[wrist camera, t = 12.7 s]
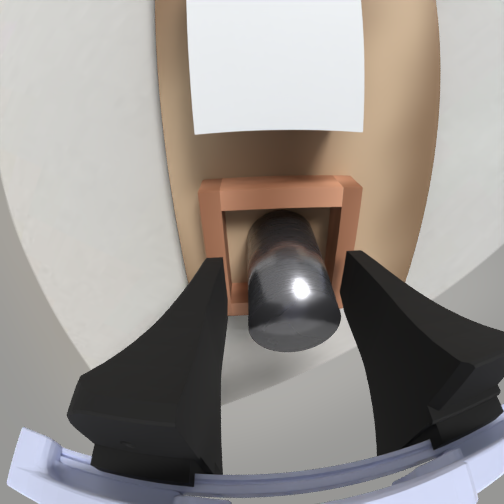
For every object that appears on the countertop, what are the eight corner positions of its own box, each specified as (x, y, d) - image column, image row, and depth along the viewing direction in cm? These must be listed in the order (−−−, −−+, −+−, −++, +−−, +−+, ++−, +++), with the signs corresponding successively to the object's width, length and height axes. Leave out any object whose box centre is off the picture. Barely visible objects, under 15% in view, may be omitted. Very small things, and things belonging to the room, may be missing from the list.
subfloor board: (415, -50, 5) (440, -62, 3) (394, 283, 16) (410, 311, 14) (163, -70, 5) (149, -93, 3) (196, 297, 16) (190, 329, 14)
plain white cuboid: (327, -32, 6) (352, -60, 4) (334, 120, 10) (362, 132, 8) (199, -33, 6) (186, -65, 4) (207, 122, 10) (194, 134, 8)
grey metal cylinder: (308, 266, 14) (328, 350, 10) (246, 265, 14) (247, 352, 10) (318, 211, 12) (351, 291, 8) (248, 208, 12) (250, 291, 8)
